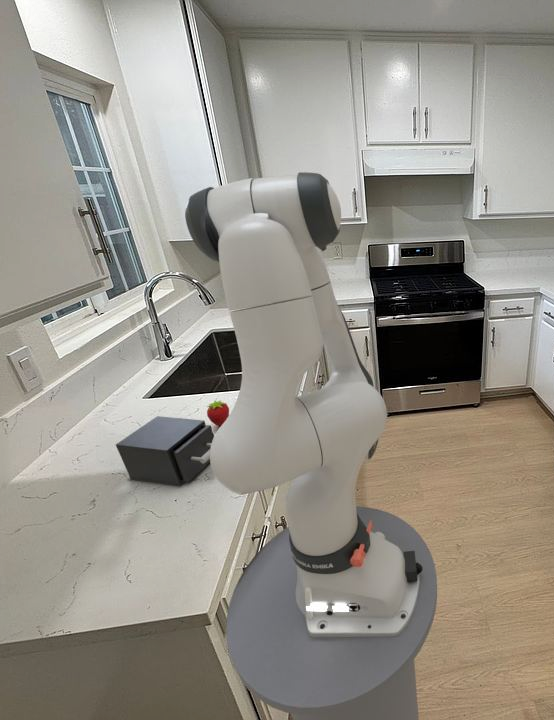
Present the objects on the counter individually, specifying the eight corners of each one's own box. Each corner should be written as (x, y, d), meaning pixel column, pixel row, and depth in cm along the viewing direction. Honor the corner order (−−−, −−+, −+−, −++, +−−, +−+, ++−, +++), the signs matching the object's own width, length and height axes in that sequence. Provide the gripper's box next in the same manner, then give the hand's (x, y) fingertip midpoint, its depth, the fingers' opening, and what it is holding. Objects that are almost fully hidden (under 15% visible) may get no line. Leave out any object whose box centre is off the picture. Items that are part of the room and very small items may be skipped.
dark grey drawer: (233, 454, 103) (225, 426, 99) (203, 484, 93) (193, 454, 89) (176, 448, 106) (166, 421, 103) (142, 476, 96) (129, 447, 93)
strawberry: (233, 418, 121) (225, 390, 117) (232, 431, 114) (224, 401, 110) (213, 422, 119) (204, 394, 115) (210, 436, 113) (201, 406, 108)
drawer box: (215, 453, 105) (204, 420, 101) (180, 485, 94) (166, 450, 89) (169, 448, 108) (157, 416, 104) (130, 479, 97) (115, 444, 92)
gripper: (325, 403, 95) (274, 399, 98) (282, 454, 77) (221, 448, 80) (329, 424, 97) (279, 421, 100) (288, 479, 79) (229, 473, 82)
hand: (253, 433), depth 90 cm, fingers closed
